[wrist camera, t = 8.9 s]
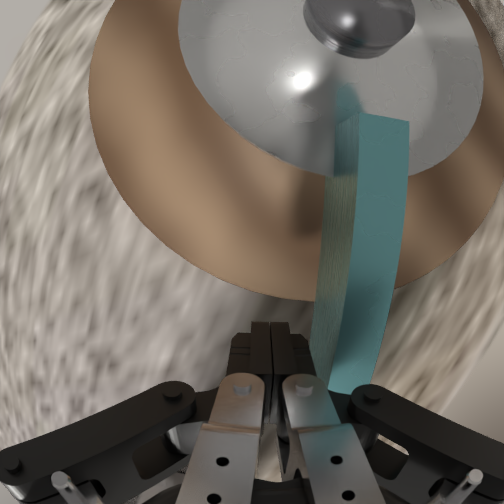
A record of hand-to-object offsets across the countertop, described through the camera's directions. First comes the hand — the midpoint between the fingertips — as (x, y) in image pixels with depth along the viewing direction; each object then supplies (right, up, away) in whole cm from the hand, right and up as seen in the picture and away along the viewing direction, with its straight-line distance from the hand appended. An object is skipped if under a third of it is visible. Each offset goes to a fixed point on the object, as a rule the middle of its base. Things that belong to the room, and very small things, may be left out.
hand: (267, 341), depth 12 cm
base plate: (+4, +15, +2) cm, 15 cm away
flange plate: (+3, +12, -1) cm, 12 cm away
